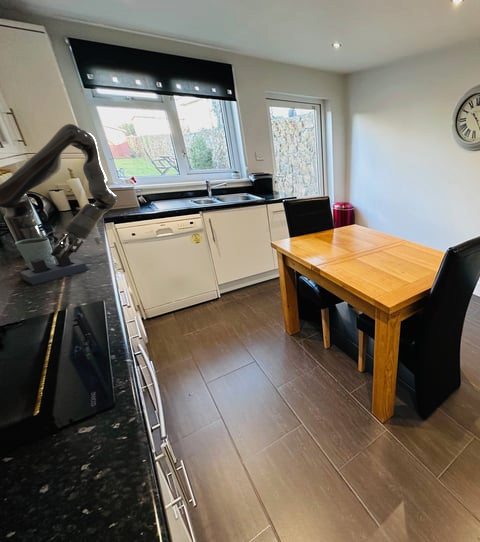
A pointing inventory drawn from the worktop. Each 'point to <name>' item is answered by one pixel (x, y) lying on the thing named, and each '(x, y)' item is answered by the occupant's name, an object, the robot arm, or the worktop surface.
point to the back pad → (63, 261)
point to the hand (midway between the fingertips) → (57, 257)
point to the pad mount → (53, 272)
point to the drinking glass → (36, 250)
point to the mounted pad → (39, 265)
